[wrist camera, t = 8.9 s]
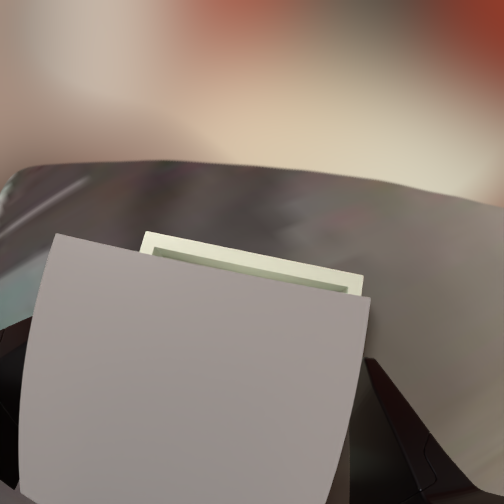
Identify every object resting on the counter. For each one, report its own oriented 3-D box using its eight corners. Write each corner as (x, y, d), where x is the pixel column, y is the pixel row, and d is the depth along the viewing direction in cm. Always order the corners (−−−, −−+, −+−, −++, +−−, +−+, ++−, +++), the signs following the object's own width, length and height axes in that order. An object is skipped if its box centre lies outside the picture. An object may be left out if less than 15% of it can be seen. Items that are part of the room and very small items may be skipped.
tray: (309, 474, 15) (317, 490, 13) (115, 428, 16) (98, 437, 14) (350, 284, 19) (363, 275, 17) (157, 244, 20) (145, 231, 17)
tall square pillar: (261, 416, 16) (294, 578, 3) (176, 397, 16) (20, 492, 3) (278, 334, 18) (370, 297, 4) (193, 316, 18) (55, 233, 4)
